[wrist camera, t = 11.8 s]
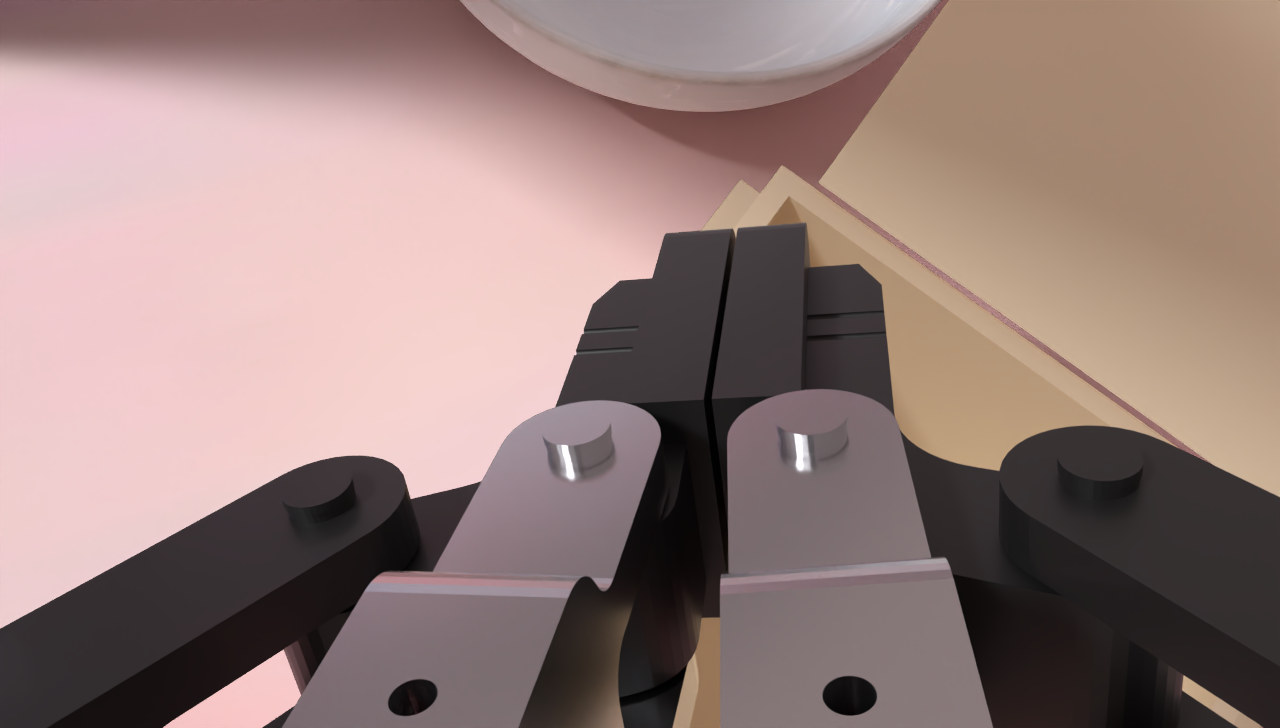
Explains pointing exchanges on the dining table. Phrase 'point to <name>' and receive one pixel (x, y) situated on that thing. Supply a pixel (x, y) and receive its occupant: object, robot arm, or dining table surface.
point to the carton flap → (1102, 195)
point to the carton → (929, 370)
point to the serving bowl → (701, 45)
